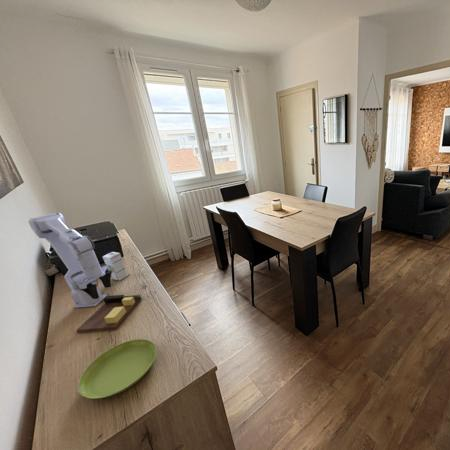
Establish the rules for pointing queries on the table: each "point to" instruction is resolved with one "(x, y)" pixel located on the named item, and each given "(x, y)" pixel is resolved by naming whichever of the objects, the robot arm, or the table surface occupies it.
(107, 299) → the knife
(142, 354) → the saucer
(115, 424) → the table surface
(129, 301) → the butter slice
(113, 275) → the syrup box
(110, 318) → the butter block
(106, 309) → the cutting board
